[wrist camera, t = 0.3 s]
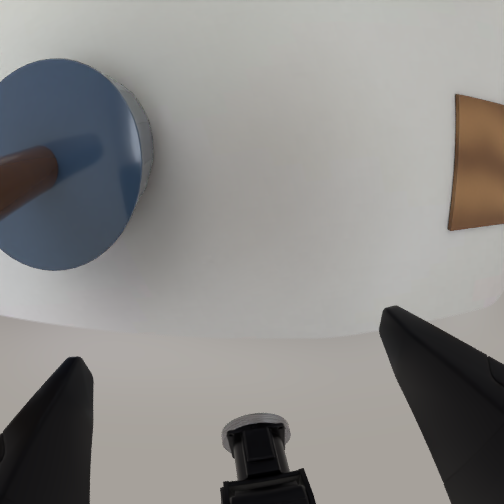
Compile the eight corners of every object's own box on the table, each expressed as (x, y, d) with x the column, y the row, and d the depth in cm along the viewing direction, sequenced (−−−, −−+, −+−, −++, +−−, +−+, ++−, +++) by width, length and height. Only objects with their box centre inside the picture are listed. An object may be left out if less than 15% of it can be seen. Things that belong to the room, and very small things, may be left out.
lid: (162, 249, 18) (135, 364, 9) (2, 272, 16) (-70, 358, 8) (135, 36, 13) (67, -31, 4) (-35, 99, 11) (-141, 118, 3)
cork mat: (508, 220, 26) (511, 222, 25) (447, 229, 25) (450, 231, 24) (518, 109, 21) (521, 110, 20) (455, 94, 20) (459, 94, 19)
